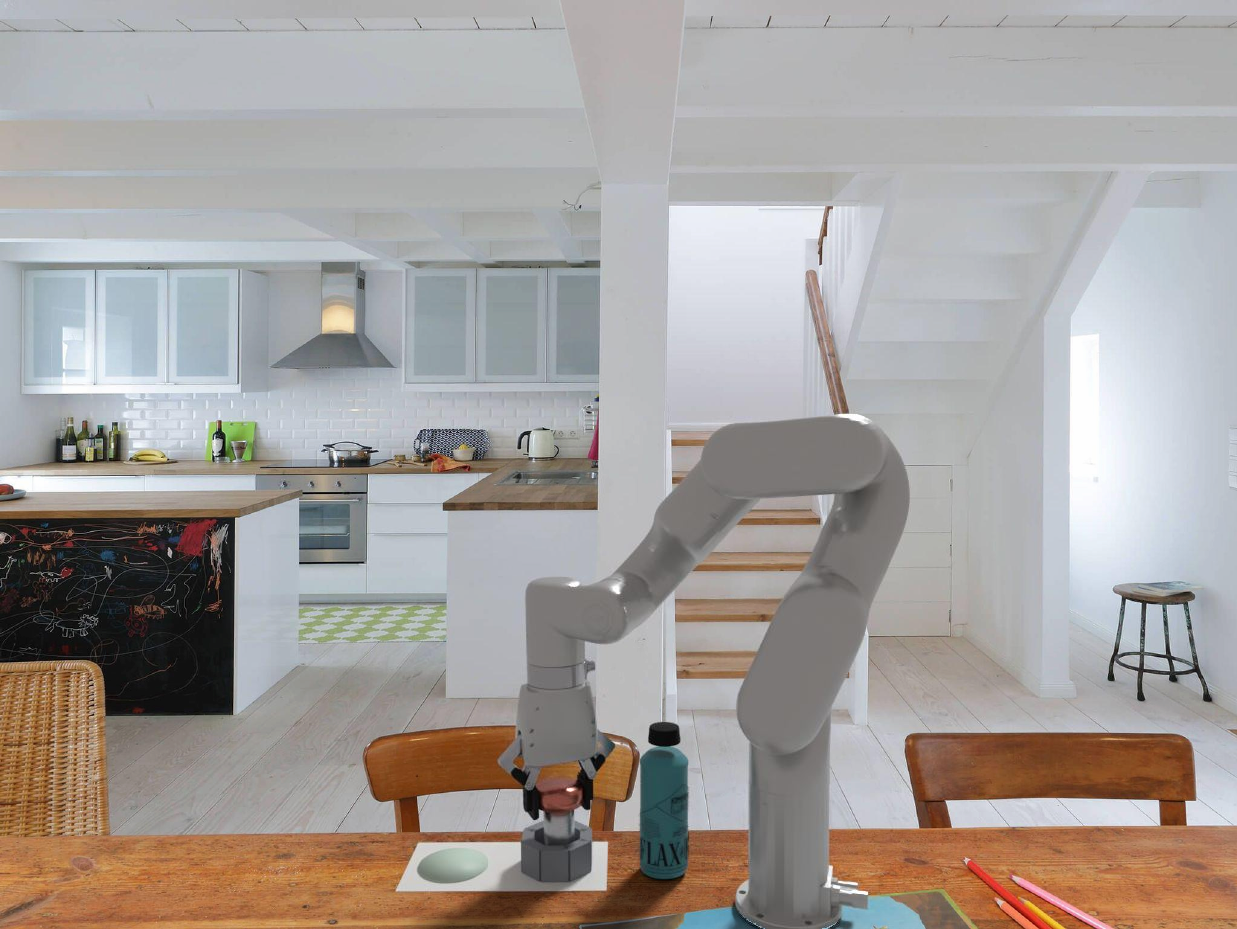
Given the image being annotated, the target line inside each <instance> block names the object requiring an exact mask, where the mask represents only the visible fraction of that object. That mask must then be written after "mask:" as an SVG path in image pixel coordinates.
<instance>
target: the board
mask: <svg viewBox="0 0 1237 929" xmlns="http://www.w3.org/2000/svg"><path fill="white" fill-rule="evenodd" d="M574 823H575V841H574V842H572V843H570V844H568V845H565V846H545V845H544V820H541V821H539V822H537V823H534V824H532V825H530V826H528V827H524V828H523V830H522V836H521V840H520V841H512V842H511V841H508V842H507V841H501V842H499V841H495V842H494V841H492V842H491V841H489V842H488V841H485V842H483V841H475V842H472V841H471V842H466V841H465V842H464V841H463V842H461V841H460V842H459V841H458V842H417V845H416V846H415V849H414V851H413V853H412V856H411V857H410V859H409V862H408V863H407V865H406V867H405V870H404V871H403V874H402V876H401V878H400V880H399V883H398V884H397V887H396V889H395V893H397V892H398V893H403V892H404V893H411V892H412V893H414V892H415V893H419V892H421V893H422V892H425V893H427V892H428V893H429V892H432V893H433V892H434V893H435V892H442V893H443V892H444V893H446V892H447V893H448V892H454V893H455V892H601V891H602V892H607V890H608V889H607V888H608V887H607V886H608V883H607V881H608V859H609V858H608V856H609V855H608V850H609V847H608V846H609V841H593V828H592V827H590V826H588V825H585V824H583V823H582V822H579V821H577V820H575V819H574Z"/></svg>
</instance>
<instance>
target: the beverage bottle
mask: <svg viewBox="0 0 1237 929" xmlns="http://www.w3.org/2000/svg"><path fill="white" fill-rule="evenodd" d="M680 731H681V730H680V726H679V725H678V724H676V723H674V722H669V721H657V722H653V723H651V724H650V725H649V728H648V735H647V736H648V737H647V741H648V743H649V744H650V745H652V746H654V747H651V748H650V749H648V750H647V751H645V752H644V753H643V754H642V756H640V758H639V765H640V766H639V767H640V768H639V769H640V770H639V771H640V774H639V775H640V776H639V777H640V778H639V782H640V783H639V786H640V789H639V795H640V796H639V797H640V798H639V800H640V802H639V803H640V805H639V806H640V808H639V819H638V822H639V823H638V826H639V828H638V831H639V834H638V837H639V843H638V850H639V853H638V856H639V860H638V864H639V865H638V866H640V870H641V871H642V873H643V874H645V875H646V876H648V877H650V878H654V879H660V880H669V879H671V880H672V879H675V878H678V877H681V876H682V875H684V874H685V873H686V872H687V870H688V866H689V865H690V864H689V862H690V844H689V843H690V831H689V830H690V829H689V808H690V805H689V799H690V792H689V789H690V787H689V786H688V785H689V781H688V780H689V779H688V777H689V759H688V757H687V756H686V755H685V754H684V753H683V752H682V750H680V749H679V748H677V747H675V746H677V745H679V744H680V743H681V740H682V739H681V734H680Z"/></svg>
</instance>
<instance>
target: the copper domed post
mask: <svg viewBox="0 0 1237 929" xmlns="http://www.w3.org/2000/svg"><path fill="white" fill-rule="evenodd" d="M535 786H536V788H537V789H538V791H539V811H540V812H541V811H542V812H543V814H542V815H543V821H544V845H545V846H565V845H568V844H570V843H572V842H574V841H575V823H574V820H575V810H577V809H579V808H580V807H582V806H581V805H582V804H583V784H582V783H581V782H580V781H578V780H577V779H575V778H571V777H550V778H545V779H542V780H540V781H538V782H536V783H535Z"/></svg>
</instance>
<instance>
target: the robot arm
mask: <svg viewBox="0 0 1237 929" xmlns="http://www.w3.org/2000/svg"><path fill="white" fill-rule="evenodd" d="M910 492H911V491H910V482H909V475H908V472H907V468H906V465H905V462H904V461H903V458H902V456H901V454H900V452H899V451H898V449H897V447H896V446H895V445H894V442H892V441H891V439H890V437H889V436H888V435H887V434H886V433H885V431H884V430H883V429H882V428H881V427H880V426H879V425H878V424H877V423H875V421H873V420H871V419H870V418H867V417H865V416H863V415H862V414H861V415H860V414H856V413H838V414H829V415H821V416H820V415H819V416H810V417H804V418H803V417H802V418H801V417H800V418H792V419H782V420H774V421H772V420H771V421H755V422H754V421H753V422H750V421H749V422H747V421H746V422H733V423H729V424H727V425H723V426H722V427H720V428H718V429H716V430H715V431H714V432H713V433H712V434H711V435H710V436H709V437H708V440H706V442H705V444H704V446H703V448H702V451H701V456H700V459H699V461H698V462H697V463H696V464H695V465H694V466H693V468H691V470H690V471H689V472H688V473H687V474H686V475H685V476H684V477H683V479H682V480H681V481H680V482H679V483H678V484H677V485H676V486H675V487H674V488H673V490H671V492H670V493H668V494H667V496H666V497H665V498H664V499H663V500H662V502H661V503H659V505H658V507H657V508H656V511H655V513H654V516H653V522H652V526H651V527H650V529H649V531H648V533H647V534H646V535H645V537H644V538H643V540H642V541H641V542H640V543H639V545H637V547H636V548H635V549H634V550H633V551H632V552H631V553H630V555H629V556H628V557H626V559H625V560H624V561H623V562H622V563H621V565H620V566H618V567H617V569H616V570H615V571H614V572H612V574H610V575H609V576H606V577H605V578H603V579H601V580H599V581H597V582H594V583H592V584H587V585H583V584H582V583H581V582H580V581H579V580H578V579H576V578H573V577H566V576H548V577H541V578H536V579H534V580H531V581H530V582H529V583H528V584H527V585H526V589H525V597H524V598H525V599H524V600H525V601H524V603H525V604H524V605H525V643H526V645H525V646H526V648H525V649H526V651H525V652H526V683H523V684H521V686H520V688H519V689H520V690H519V693H518V698H517V699H518V700H517V707H516V720H515V732H514V733H515V734H514V735H515V737H514V738H515V739H514V740H513V741H512V742H511V743H510V745H509V746H508V747H507V748H506V750H504V752H503V753H502V754H501V755H499V757H498V759H497V763H498V766H499V767H501V768H502V769H503V770H504V771H505V772H507V774H509V775H510V776H511V777H512V778H513V779H514V780H515V781H517V782H518V783H519V784H520V785H521V786H522V806H523V810H524V812H525V813H527V814H528V815H529V817H530V818H531V820H532V821H538V820H539V818H540V810H539V791H538V789H537V788H536V786H535V784H537V780H538V778H539V774H540V773H541V770H542V768H545V767H547V768H548V767H552V766H553V767H554V766H559V765H565V764H570V763H577V765H578V767H579V769H580V771H578V772H577V774H576V780H578V781H580V782H581V783H582V784H583V804H582V805H581V806H580V807H582V808H583V809H584V810H586V811H590V810H591V808H592V803H591V801H594V779H596V777H597V775H598V774H597V773H598V772H599V771H600V769H601V768H602V766H603V765H604V764H605V763H606V759H607V758H609V756H610V755H611V753H612V752H613V751H614V749H616V743H615V742H614V741H613V740H611V739H610V738H609V737H607V736H606V735H605V734H604V733H603V732H601V730H599V729H598V721H597V714H596V706H595V702H594V701H595V700H594V695H593V690H592V687H591V682H590V680H588V674H589V673H591V672H595V671H596V663H595V661H594V660H587V659H586V644H585V642H587V643H591V644H596V645H612V644H615V643H617V642H620V641H622V640H623V639H624V638H625V637H627V636H628V635H629V634H632V632H633V631H634V630H636V629H637V628H638V627H640V626H641V625H642V624H644V622H646V621H647V620H648V619H649V618H650V617H651V616H652V615H653V614H654V613H655V611H657V609H658V608H659V607H660V606H661V605H662V604H664V602H665V601H666V599H668V598H669V597H670V595H671V594H672V593H673V592H674V591H675V590H676V589H677V588H678V587H679V585H681V583H682V582H684V580H685V579H686V578H687V577H688V576H689V575H690V573H692V572H693V570H694V569H695V568H696V567H697V566H699V565H700V564H701V563H703V562H704V561H705V560H706V559H707V557H709V555H710V554H711V553H713V551H714V550H715V549H716V548H717V547H718V546H719V544H720V543H721V542H722V541H724V539H725V538H726V537H727V536H728V534H729V533H730V532H731V531H732V530H733V529H734V528H735V527H736V526H737V525H738V523H739V522H741V520H743V518H745V516H746V515H747V514H748V513H749V512H750V511H751V510H752V509H753V508H754V507H755V506H756V505H757V504H758V502H759V501H760V500H761V499H779V498H796V497H806V496H807V497H808V496H811V497H812V496H822V495H824V496H827V495H833V496H834V497H833V502H832V505H831V508H830V511H829V513H828V515H827V518H826V520H825V522H824V524H823V526H822V528H821V530H820V533H819V535H818V539H817V540H816V543H815V545H814V547H813V549H812V552H811V553H810V556H809V557H808V560H807V561H806V563H805V564H804V567H803V569H802V571H801V573H800V574H799V576H798V577H797V578H796V579H795V580H794V582H793V583H792V584H791V585H790V587H789V588H788V590H787V591H786V593H785V594H784V595H783V597H782V599H781V601H780V602H779V604H778V605H777V608H776V611H775V612H774V614H773V616H772V619H771V621H770V623H769V625H768V627H767V629H766V632H765V634H764V636H763V639H762V640H761V642H760V645H759V647H758V649H757V651H756V654H755V655H754V658H753V659H752V661H751V664H750V666H749V669H748V671H747V672H746V675H745V677H744V679H743V681H742V684H741V686H740V688H739V689H738V690H739V691H738V693H737V696H736V703H735V712H736V713H735V714H736V719H737V722H738V726H739V728H740V729H741V732H742V733H743V736H745V738H746V739H747V740H748V742H749V744H748V840H747V842H748V844H747V845H748V855H747V856H748V857H747V858H748V860H747V861H748V870H747V871H748V878H747V880H745V881H744V882H743V883H741V884H740V885H739V886H738V888H737V889H736V892H735V902H734V903H735V907H736V911H737V910H738V911H739V912H738V911H737V912H738V914H739V915H740V914H741V915H742V916H744V917H745V918H746V919H748V920H749V921H751V922H752V923H756V925H758V926H761V927H762V928H765V929H822V928H827V927H829V926H831V925H833V924H835V923H836V922H838V923H839V921H840V920H841V918H842V916H841V915H842V914H843V907H851V908H853V909H859V910H868V908H869V907H868V906H869V905H868V904H869V896H868V895H869V892H868V891H864V890H859V883H858V882H856V881H849V880H847V881H845V880H844V881H843V880H839V879H838V877H833V875H834V874H833V873H834V871H833V870H834V869H833V868H834V865H830V784H831V782H830V781H831V771H830V770H831V733H832V730H831V729H832V714H833V713H832V711H833V704H834V702H835V700H836V699H837V696H838V694H839V692H840V691H841V688H842V687H843V684H844V682H845V680H846V678H847V676H848V674H849V672H850V670H851V668H852V666H853V664H854V661H855V659H856V658H857V655H858V653H859V650H860V648H861V646H862V643H863V641H864V639H865V638H864V637H865V636H866V635H865V634H866V630H867V626H868V621H869V617H870V616H869V615H870V611H871V607H872V604H873V602H874V600H875V597H876V595H877V593H878V590H879V588H880V586H881V584H882V582H883V580H884V578H885V576H886V574H887V571H888V569H889V566H890V564H891V561H892V559H893V557H894V554H895V553H896V550H897V548H898V546H899V543H900V541H901V539H902V536H903V533H904V531H905V528H906V524H907V520H908V516H909V512H910V503H911V502H910V501H911V500H910V499H911V498H910V496H911V495H910V494H911V493H910ZM516 758H522V759H523V762H524V764H523V766H522V768H519V766H517V765H515V764H514V761H515V759H516ZM741 915H740V916H741ZM742 916H741V917H742ZM840 917H841V918H840ZM839 919H840V920H839ZM838 920H839V921H838Z"/></svg>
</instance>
